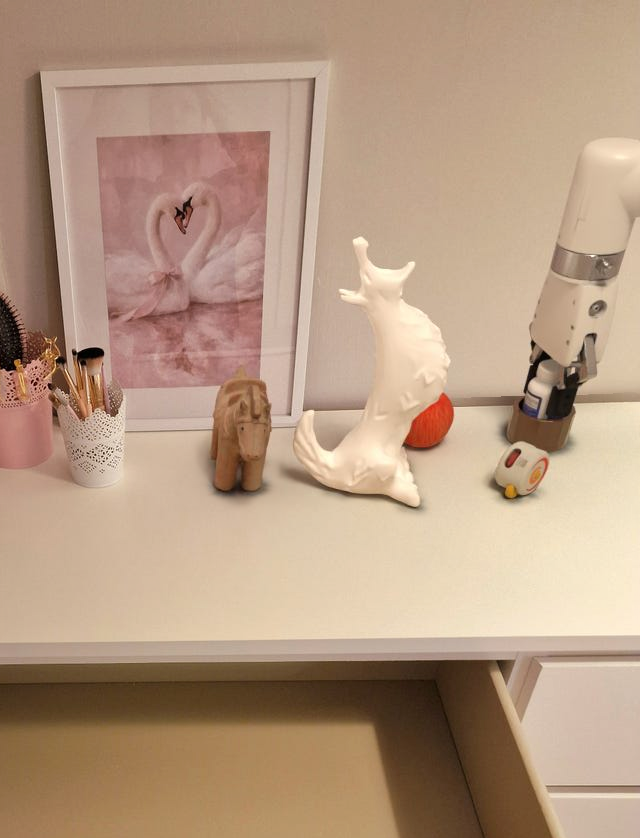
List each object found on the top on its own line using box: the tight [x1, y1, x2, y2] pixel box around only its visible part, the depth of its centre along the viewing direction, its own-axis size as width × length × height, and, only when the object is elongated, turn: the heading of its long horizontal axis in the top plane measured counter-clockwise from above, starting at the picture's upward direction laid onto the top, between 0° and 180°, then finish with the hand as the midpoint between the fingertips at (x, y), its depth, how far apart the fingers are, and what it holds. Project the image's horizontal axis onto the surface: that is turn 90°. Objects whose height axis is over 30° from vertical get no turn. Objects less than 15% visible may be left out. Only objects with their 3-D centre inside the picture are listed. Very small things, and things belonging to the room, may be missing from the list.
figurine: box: [209, 364, 273, 492], centre depth 107 cm, size 7×18×15 cm, turn 3°
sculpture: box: [292, 236, 452, 508], centre depth 100 cm, size 11×17×30 cm
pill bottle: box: [522, 359, 573, 420], centre depth 113 cm, size 5×5×9 cm
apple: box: [403, 391, 455, 448], centre depth 115 cm, size 8×8×8 cm
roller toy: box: [494, 441, 550, 499], centre depth 106 cm, size 4×6×6 cm
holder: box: [505, 394, 577, 453], centre depth 115 cm, size 8×8×4 cm
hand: (546, 402), depth 113 cm, fingers closed on pill bottle, 5 cm apart
